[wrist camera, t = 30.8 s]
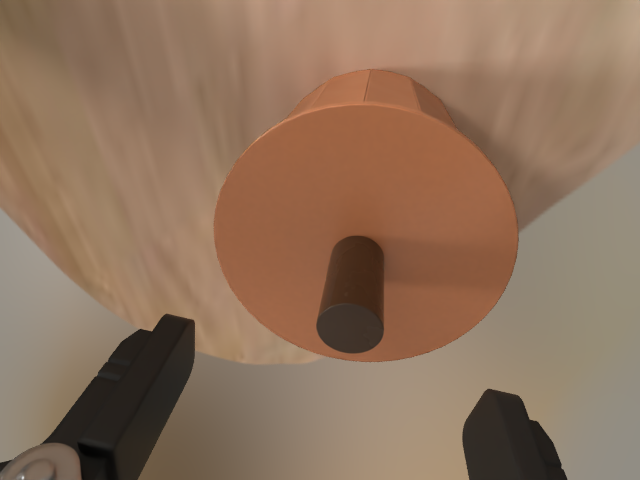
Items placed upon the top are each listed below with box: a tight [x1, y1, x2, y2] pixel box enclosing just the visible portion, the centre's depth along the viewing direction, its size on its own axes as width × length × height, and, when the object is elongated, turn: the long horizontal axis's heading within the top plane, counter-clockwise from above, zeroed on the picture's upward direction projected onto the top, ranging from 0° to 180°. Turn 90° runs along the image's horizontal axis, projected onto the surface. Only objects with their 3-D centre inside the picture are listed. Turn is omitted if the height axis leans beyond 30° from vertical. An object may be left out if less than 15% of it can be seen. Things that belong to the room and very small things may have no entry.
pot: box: [286, 69, 457, 130], centre depth 23 cm, size 12×12×12 cm
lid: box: [214, 101, 518, 362], centre depth 16 cm, size 14×14×6 cm
